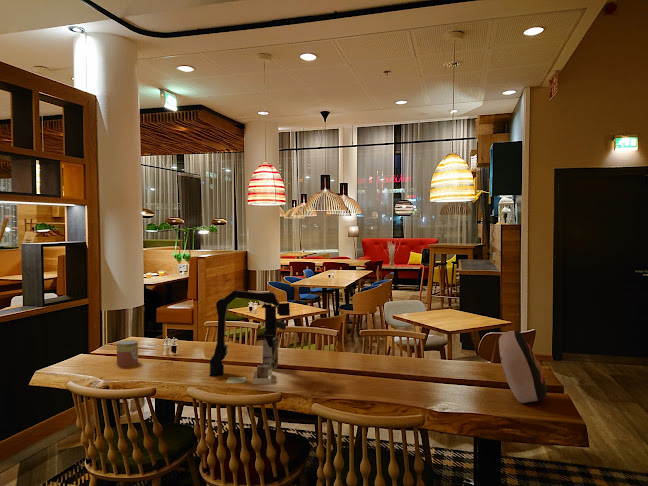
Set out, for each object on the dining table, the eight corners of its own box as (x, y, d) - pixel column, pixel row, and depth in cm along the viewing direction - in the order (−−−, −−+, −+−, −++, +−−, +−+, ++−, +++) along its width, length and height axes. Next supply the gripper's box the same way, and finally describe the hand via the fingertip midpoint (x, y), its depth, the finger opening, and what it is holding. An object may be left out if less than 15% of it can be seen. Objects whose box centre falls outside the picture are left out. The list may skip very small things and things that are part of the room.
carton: (252, 384, 227) (252, 376, 227) (254, 376, 242) (254, 368, 242) (271, 384, 228) (271, 376, 228) (271, 375, 243) (271, 367, 243)
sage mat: (226, 384, 228) (226, 382, 228) (228, 378, 237) (228, 377, 237) (244, 383, 229) (244, 382, 229) (246, 378, 238) (246, 377, 238)
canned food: (130, 366, 261) (130, 344, 261) (112, 365, 263) (112, 344, 263) (141, 361, 273) (141, 340, 273) (124, 360, 274) (124, 339, 274)
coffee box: (273, 370, 253) (273, 340, 252) (262, 369, 254) (262, 340, 254) (278, 366, 261) (278, 337, 261) (267, 365, 263) (267, 336, 263)
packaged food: (549, 410, 193) (549, 338, 193) (498, 404, 200) (498, 334, 200) (545, 394, 213) (545, 328, 213) (499, 389, 220) (499, 325, 220)
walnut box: (256, 380, 233) (256, 367, 233) (257, 378, 237) (257, 365, 237) (268, 380, 233) (268, 367, 233) (268, 377, 237) (268, 365, 237)
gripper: (286, 318, 239) (286, 349, 239) (285, 313, 257) (285, 341, 257) (264, 319, 238) (264, 349, 238) (265, 313, 256) (265, 341, 256)
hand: (270, 345), depth 247 cm, fingers open, 9 cm apart
